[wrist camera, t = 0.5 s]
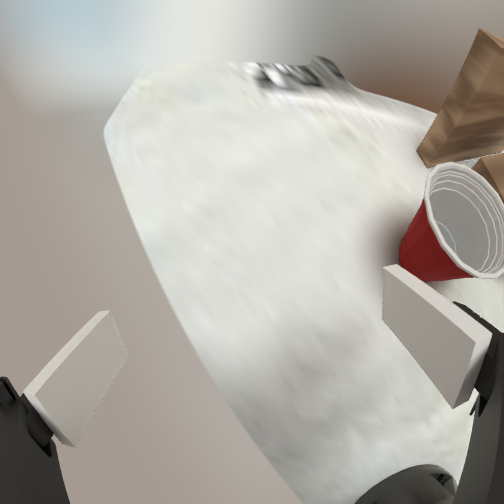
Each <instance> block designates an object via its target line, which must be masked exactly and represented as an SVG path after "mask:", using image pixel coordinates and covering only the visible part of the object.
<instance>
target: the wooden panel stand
mask: <svg viewBox="0 0 504 504" xmlns="http://www.w3.org/2000/svg"><path fill="white" fill-rule="evenodd" d="M503 149H504V39H502V38H500V37H498V36H496V35H494V34H491V33H489V32H487V31H484V30H482V29H479V30H478V33H477V35H476V37H475V40H474V42H473V45H472V47H471V49H470V52H469V54H468V56H467V58H466V60H465V62H464V65H463V67H462V69H461V71H460V73H459V75H458V77H457V79H456V81H455V83H454V85H453V87H452V89H451V91H450V93H449V95H448V97H447V98H446V100H445V102H444V104H443V106H442V108H441V110H440V112H439V113H438V115H437V117H436V118H435V120H434V122H433V124H432V126H431V127H430V129H429V131H428V132H427V134H426V136H425V138H424V139H423V141H422V143H421V144H420V146H419V147H418V149H417V153H418V154H419V156H420V157H421V159H422V161H423V162H424V164H425V166H426V167H427V168H429V167H434V166H436V165H437V164H442V163H447V162H456V161H461V160H466V159H471V158H475V157H480V156H485V155H490V154H496V153H501V152H502V151H503ZM471 169H472V170H474V171H475V172H477V173H478V174H479V175H481V176H482V177H484V178H485V180H486V181H487V182H488V183H489V184H490V185H491V186H492V187H493V189H494V190H495V191H496V192H497V193H498V195H499V197H500V199H501V200H502V202H503V204H504V153H502V154H497V155H492V156H487V157H482V158H480V160H479V161H478V162H477V163H476V164H475V165H474V166H473V167H472V168H471Z"/></svg>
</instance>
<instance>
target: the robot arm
mask: <svg viewBox="0 0 504 504" xmlns="http://www.w3.org/2000/svg"><path fill="white" fill-rule="evenodd" d="M382 320H383V321H384V322H385V323H386V324H387V326H388V327H389V328H390V329H391V330H392V332H393V333H394V334H395V335H396V336H397V338H398V339H399V340H400V341H401V343H402V344H403V345H404V346H405V348H406V349H407V350H408V351H409V353H410V354H411V355H412V356H413V358H414V359H415V360H416V361H417V363H418V364H419V365H420V366H421V368H422V369H423V370H424V372H425V373H426V374H427V376H428V377H429V378H430V379H431V381H432V382H433V383H434V385H435V386H436V387H437V389H438V390H439V391H440V393H441V394H442V395H443V397H444V398H445V400H446V401H447V402H448V404H449V405H450V406H451V408H452V409H453V408H455V407H457V406H459V405H461V404H463V403H465V402H466V401H468V400H469V398H470V396H471V394H472V391H473V389H474V387H475V389H476V390H477V391H478V392H479V395H478V397H477V399H476V401H475V403H474V405H473V408H472V410H471V412H470V415H472V414H473V412H474V410H475V415H474V421H473V428H472V433H471V438H470V443H469V448H468V452H467V456H466V460H465V464H464V468H463V472H462V475H461V478H460V482H459V485H458V486H457V484H456V481H455V479H454V477H453V476H452V475H451V474H450V473H448V472H447V471H446V470H444V469H443V468H441V467H439V466H436V465H421V466H416V467H412V468H409V469H406V470H404V471H401V472H399V473H397V474H395V475H393V476H391V477H389V478H387V479H386V480H384V481H382V482H381V483H379V484H378V485H376V486H375V487H374V488H372V489H371V490H370V491H368V492H367V493H366V494H365V495H364V496H363V497H362V498H361V499H360V500H359V501H358V502H357V503H356V504H504V333H501V332H500V331H499V330H497V329H496V328H495V327H494V326H492V325H491V324H490V323H488V322H487V321H486V320H484V319H483V318H482V317H481V318H480V316H479V315H478V314H476V313H475V312H474V313H473V311H472V310H471V309H470V308H468V307H467V306H465V305H463V304H460V303H458V302H455V301H454V302H451V301H449V300H448V299H447V298H445V297H444V296H442V295H441V294H440V293H438V292H437V291H435V290H434V289H433V288H431V287H430V286H428V285H427V284H426V283H424V282H423V281H421V280H420V279H418V278H417V277H415V276H414V275H412V274H411V273H409V272H408V271H406V270H405V269H403V268H402V267H400V266H399V265H397V264H395V265H390V266H385V267H383V308H382ZM128 357H129V354H128V352H127V350H126V348H125V345H124V343H123V341H122V338H121V336H120V333H119V331H118V329H117V326H116V324H115V321H114V319H113V316H112V313H111V311H101V312H98V313H97V314H96V315H95V316H94V317H93V318H92V319H91V320H90V321H89V322H88V323H87V324H86V325H85V326H84V327H83V328H82V329H81V330H80V331H79V332H78V333H77V334H76V335H75V336H74V337H73V338H72V339H71V340H70V341H69V342H68V343H67V344H66V345H65V346H64V347H63V348H62V349H61V350H60V351H59V353H57V355H56V356H55V357H54V358H53V359H52V360H51V361H50V362H49V363H48V364H47V365H46V366H45V367H44V368H43V370H42V371H41V372H40V373H39V374H38V375H37V376H36V377H35V379H34V380H33V381H32V382H31V383H30V384H29V385H28V387H26V389H25V390H24V391H23V392H24V393H23V394H22V396H21V397H19V395H18V394H17V392H16V391H15V389H14V387H13V386H12V384H11V383H10V381H9V379H8V378H7V377H0V504H70V502H69V499H68V495H67V492H66V488H65V485H64V481H63V478H62V473H61V469H60V465H59V460H58V455H57V451H56V445H55V443H54V441H53V440H52V439H51V437H52V436H53V434H55V436H56V437H57V438H58V439H59V441H60V442H61V443H62V444H65V445H68V446H72V447H76V445H77V444H78V442H79V440H80V438H81V436H82V434H83V433H84V431H85V429H86V427H87V426H88V424H89V422H90V420H91V419H92V417H93V415H94V413H95V412H96V410H97V408H98V406H99V405H100V403H101V401H102V400H103V398H104V396H105V395H106V393H107V391H108V389H109V388H110V386H111V385H112V383H113V381H114V380H115V378H116V376H117V374H118V373H119V371H120V370H121V368H122V367H123V365H124V363H125V362H126V360H127V359H128Z"/></svg>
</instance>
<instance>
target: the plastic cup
mask: <svg viewBox="0 0 504 504" xmlns="http://www.w3.org/2000/svg"><path fill="white" fill-rule="evenodd" d="M399 261H400V263H401V266H402V268H403V269H405V270H406V271H408V272H409V273H411V274H412V275H414V276H415V277H417V278H418V279H420V280H421V281H425V282H428V281H445V280H452V279H460V278H473V277H475V278H488V279H494V278H497V277H498V276H500V275H501V274H502V273H504V204H503V202H502V200H501V199H500V197H499V195H498V193H497V192H496V191H495V190H494V189H493V187H492V186H491V185H490V184H489V183H488V182H487V181H486V180H485V178H484V177H482V176H481V175H479V174H478V173H477V172H475V171H474V170H472V169H471V168H469V167H468V166H464V165H461V164H458V163H454V162H447V163H442V164H437V165H436V166H435V168H434V169H433V170H432V171H431V172H430V173H429V174H428V176H427V180H426V187H425V193H424V198H423V201H422V204H421V206H420V208H419V210H418V212H417V214H416V215H415V217H414V219H413V221H412V223H411V224H410V226H409V228H408V231H407V233H406V234H405V236H404V238H403V239H402V242H401V245H400V249H399Z"/></svg>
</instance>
